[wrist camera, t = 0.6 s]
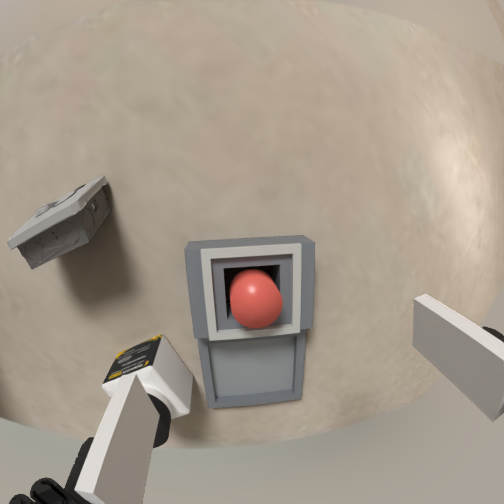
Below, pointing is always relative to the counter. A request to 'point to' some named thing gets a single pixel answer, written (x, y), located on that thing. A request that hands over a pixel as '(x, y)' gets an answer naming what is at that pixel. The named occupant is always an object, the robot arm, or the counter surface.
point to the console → (244, 338)
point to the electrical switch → (62, 224)
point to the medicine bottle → (156, 380)
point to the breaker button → (254, 298)
